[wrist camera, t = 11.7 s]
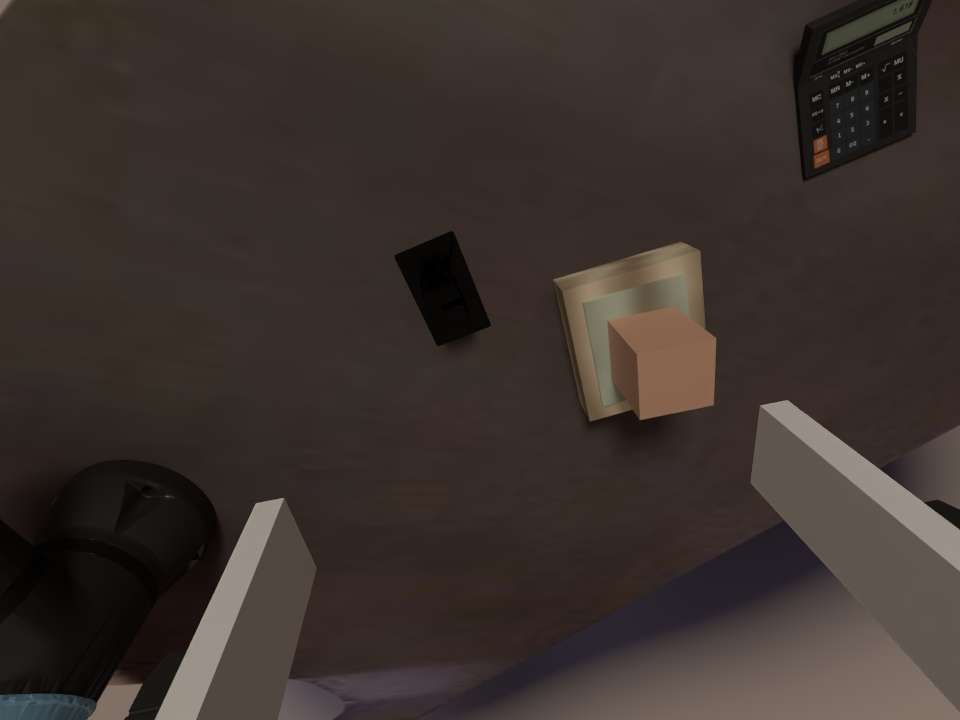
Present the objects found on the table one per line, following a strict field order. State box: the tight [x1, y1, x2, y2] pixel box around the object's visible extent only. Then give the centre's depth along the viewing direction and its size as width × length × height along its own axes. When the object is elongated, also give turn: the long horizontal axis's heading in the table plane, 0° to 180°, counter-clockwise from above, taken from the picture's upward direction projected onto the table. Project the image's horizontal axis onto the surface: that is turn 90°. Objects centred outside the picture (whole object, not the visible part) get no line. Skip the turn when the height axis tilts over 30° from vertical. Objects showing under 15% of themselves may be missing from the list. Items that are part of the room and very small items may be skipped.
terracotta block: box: [607, 306, 716, 420], centre depth 40 cm, size 6×6×7 cm
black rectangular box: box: [395, 231, 491, 346], centre depth 41 cm, size 12×7×5 cm, turn 21°
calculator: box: [793, 0, 932, 179], centre depth 37 cm, size 9×12×3 cm
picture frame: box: [554, 242, 705, 421], centre depth 45 cm, size 12×14×4 cm
